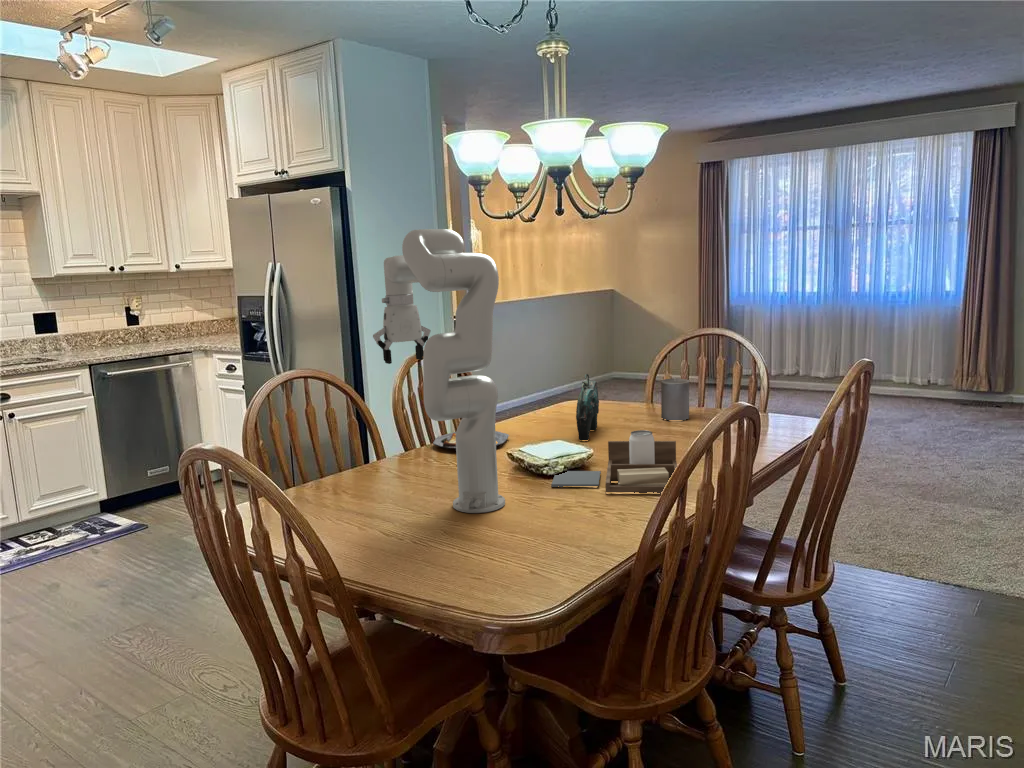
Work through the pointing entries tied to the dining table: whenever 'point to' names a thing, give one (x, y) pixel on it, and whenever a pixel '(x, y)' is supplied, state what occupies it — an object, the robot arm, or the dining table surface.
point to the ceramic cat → (587, 408)
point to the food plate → (450, 439)
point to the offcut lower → (645, 484)
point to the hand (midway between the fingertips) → (404, 361)
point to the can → (641, 447)
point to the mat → (577, 478)
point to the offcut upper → (642, 476)
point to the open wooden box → (621, 460)
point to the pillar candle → (675, 399)
